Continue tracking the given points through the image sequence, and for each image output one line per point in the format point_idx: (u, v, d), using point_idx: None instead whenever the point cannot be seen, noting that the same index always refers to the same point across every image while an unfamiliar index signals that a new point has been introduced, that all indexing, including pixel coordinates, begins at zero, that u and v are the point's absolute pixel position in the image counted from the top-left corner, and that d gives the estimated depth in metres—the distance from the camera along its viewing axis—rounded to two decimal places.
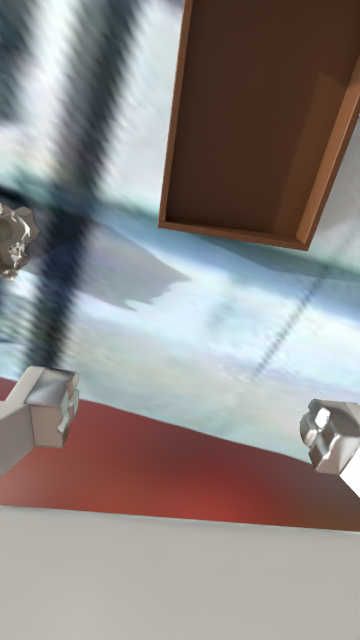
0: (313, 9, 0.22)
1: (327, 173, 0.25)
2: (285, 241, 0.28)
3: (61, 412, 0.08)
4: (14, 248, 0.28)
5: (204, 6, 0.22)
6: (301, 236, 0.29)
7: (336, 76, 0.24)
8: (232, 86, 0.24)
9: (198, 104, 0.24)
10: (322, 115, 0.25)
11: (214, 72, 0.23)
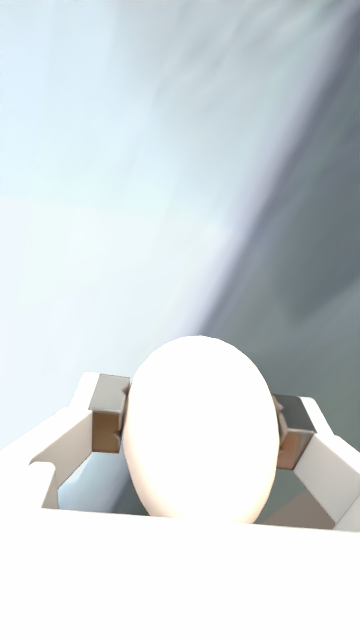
0: None
1: None
2: None
3: (122, 418, 0.08)
4: None
5: None
6: None
7: None
8: None
9: None
10: None
11: None
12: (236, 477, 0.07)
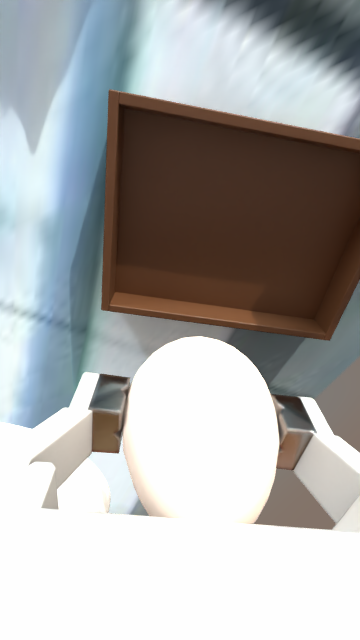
0: (310, 270, 0.25)
1: (183, 312, 0.24)
2: (109, 283, 0.23)
3: (122, 418, 0.08)
4: None
5: (336, 163, 0.21)
6: (116, 299, 0.24)
7: (260, 299, 0.26)
8: (266, 200, 0.22)
9: (255, 159, 0.21)
10: (231, 294, 0.26)
11: (281, 178, 0.21)
12: (236, 478, 0.07)
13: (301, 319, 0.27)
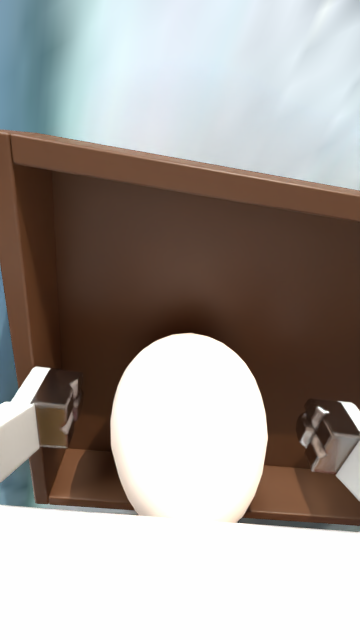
0: None
1: None
2: (44, 470, 0.12)
3: (67, 413, 0.08)
4: None
5: None
6: (65, 474, 0.14)
7: None
8: (338, 320, 0.12)
9: (325, 253, 0.10)
10: None
11: None
12: (222, 473, 0.07)
13: None
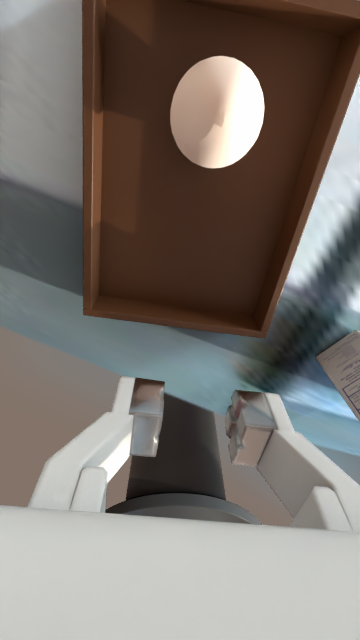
0: (155, 279, 0.24)
1: (95, 116, 0.17)
2: None
3: (161, 422, 0.09)
4: None
5: (254, 280, 0.24)
6: None
7: (116, 230, 0.22)
8: (228, 220, 0.22)
9: (268, 203, 0.21)
10: (119, 192, 0.21)
11: (247, 233, 0.22)
12: (248, 129, 0.14)
13: (98, 281, 0.23)
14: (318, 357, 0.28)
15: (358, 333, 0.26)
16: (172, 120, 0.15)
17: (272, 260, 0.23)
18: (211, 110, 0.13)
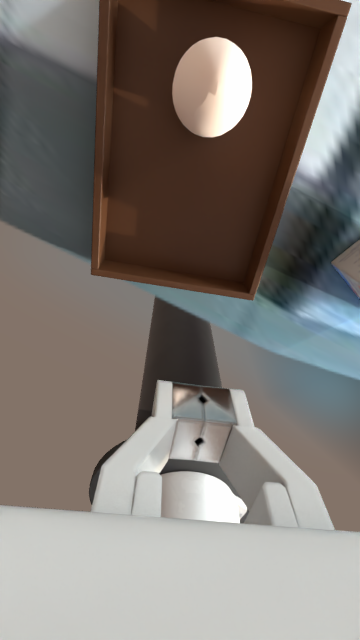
0: (155, 245, 0.27)
1: (107, 92, 0.19)
2: None
3: (203, 427, 0.09)
4: None
5: (244, 248, 0.27)
6: None
7: (121, 199, 0.25)
8: (221, 192, 0.24)
9: (256, 177, 0.24)
10: (125, 164, 0.23)
11: (238, 204, 0.25)
12: (237, 98, 0.16)
13: (104, 246, 0.26)
14: (333, 261, 0.27)
15: None
16: (174, 92, 0.18)
17: (260, 229, 0.26)
18: (206, 80, 0.16)
